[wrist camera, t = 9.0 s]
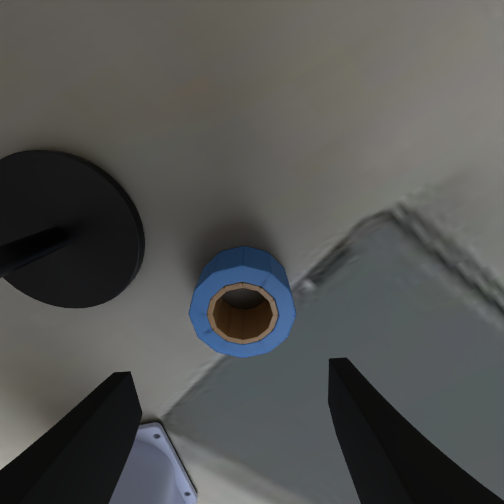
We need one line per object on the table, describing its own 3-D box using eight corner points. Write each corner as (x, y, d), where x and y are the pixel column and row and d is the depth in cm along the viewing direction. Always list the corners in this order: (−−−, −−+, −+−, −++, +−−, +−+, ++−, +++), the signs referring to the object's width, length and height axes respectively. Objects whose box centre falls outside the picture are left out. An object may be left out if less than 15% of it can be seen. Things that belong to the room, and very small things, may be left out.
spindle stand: (167, 284, 17) (131, 339, 12) (36, 315, 17) (-51, 379, 12) (105, 129, 14) (21, 114, 9) (-50, 175, 14) (-208, 186, 9)
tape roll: (295, 314, 17) (303, 346, 15) (215, 332, 18) (208, 365, 15) (276, 237, 16) (282, 255, 13) (188, 259, 16) (175, 281, 13)
